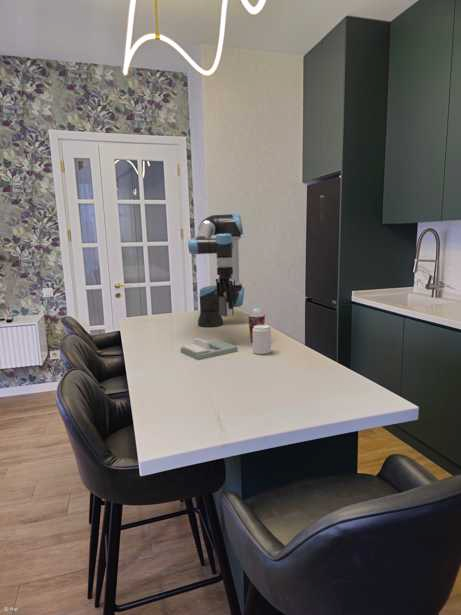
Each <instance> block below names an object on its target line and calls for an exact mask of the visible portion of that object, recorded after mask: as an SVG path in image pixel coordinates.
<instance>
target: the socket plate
mask: <svg viewBox="0 0 461 615" xmlns="http://www.w3.org/2000/svg"><path fill="white" fill-rule="evenodd" d="M208 342H209V349H210V348H211V349H210V351H208V352H204V353H199V354H196V353H193V352H191V351H189V350H186V349H184V348H183V347H180V353H182V354H184V355H186V356H188V357H190V356H191V358H192V357H193V358H192V359H195V360H197V361H200V359H201V360H204V358H205V359H209V358H208V357H210V358H212V357H213V356H214V357H218V356H222V354H223V355H226V353H227V354H231V353H235V352H238V351H239V350H238V349H239V348H238V346H236V345H233V344H231V343H228V342H224V341H222V340H212V341H208ZM213 349H214V350H213ZM217 355H218V356H217ZM214 357H213V358H214Z"/></svg>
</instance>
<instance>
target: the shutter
mask: <svg viewBox="0 0 461 615" xmlns="http://www.w3.org/2000/svg"><path fill="white" fill-rule="evenodd" d="M193 341H194V343H192V344H187V345H186V344H185V345H182V347H181V348H184V349H186V350H189V351H191V352H193V353H196V354H199V353H204V352H208V351H211V349H210V348H209V342H210V341H208V340H207V341H206V340H204V339H202V338H199V337H194V340H193Z"/></svg>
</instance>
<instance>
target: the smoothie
mask: <svg viewBox="0 0 461 615" xmlns="http://www.w3.org/2000/svg"><path fill="white" fill-rule="evenodd" d="M247 316H248V330H249V338H250V339H249V340H250V341H251V343H252V344H253V328H254V326H256V325H266V323H265V320H266V319H265V318H266V314H265V312H264V310H263V309H262V308H260V307H258V302H257V301H255V307H253V308H251V309H250V310H249V313H248V314H247Z"/></svg>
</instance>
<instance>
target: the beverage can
mask: <svg viewBox="0 0 461 615" xmlns="http://www.w3.org/2000/svg"><path fill="white" fill-rule="evenodd" d="M270 326H271V325H268V324H265V325H256V326H254V328H253V343H252V352H253V353H254V354H257V355H267V354H270V353H271V352H272V339H271V338H272V336H271V334H272V330H271V327H270Z"/></svg>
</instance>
